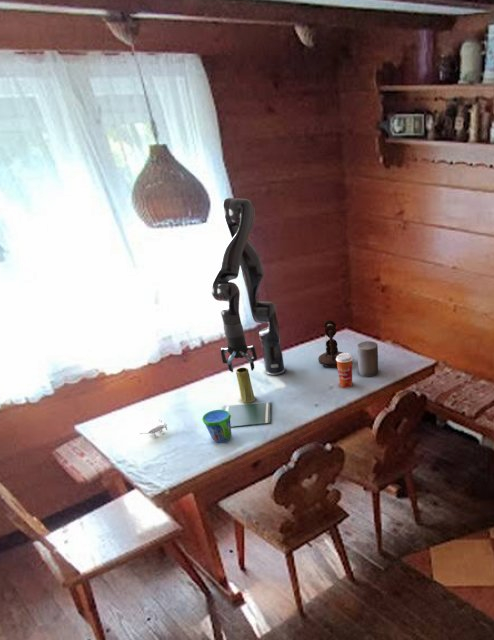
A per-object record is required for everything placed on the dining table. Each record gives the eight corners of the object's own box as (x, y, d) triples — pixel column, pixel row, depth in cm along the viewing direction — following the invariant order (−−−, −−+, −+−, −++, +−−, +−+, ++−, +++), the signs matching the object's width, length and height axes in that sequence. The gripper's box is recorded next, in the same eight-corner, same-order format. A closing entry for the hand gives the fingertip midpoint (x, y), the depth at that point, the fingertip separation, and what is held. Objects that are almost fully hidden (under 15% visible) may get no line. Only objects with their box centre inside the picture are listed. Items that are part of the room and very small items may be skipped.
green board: (224, 407, 224) (224, 406, 224) (270, 403, 226) (270, 402, 226) (221, 428, 211) (221, 427, 210) (270, 423, 213) (269, 422, 212)
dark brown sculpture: (318, 357, 262) (314, 318, 249) (347, 355, 263) (344, 316, 250) (318, 369, 251) (314, 329, 238) (348, 367, 252) (345, 327, 239)
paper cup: (335, 387, 236) (332, 358, 227) (342, 380, 242) (340, 351, 233) (350, 389, 234) (348, 360, 225) (357, 382, 239) (355, 354, 230)
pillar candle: (382, 370, 248) (381, 340, 239) (371, 378, 242) (370, 348, 232) (365, 366, 253) (364, 336, 243) (354, 374, 246) (352, 343, 237)
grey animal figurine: (165, 427, 212) (161, 417, 209) (172, 431, 209) (169, 421, 206) (139, 439, 205) (135, 429, 202) (146, 444, 202) (142, 434, 199)
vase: (238, 401, 228) (231, 371, 219) (247, 395, 232) (241, 365, 223) (249, 404, 226) (242, 374, 216) (257, 398, 230) (252, 368, 220)
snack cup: (203, 433, 208) (196, 411, 201) (228, 426, 212) (222, 404, 205) (215, 451, 198) (208, 428, 191) (241, 443, 202) (235, 420, 195)
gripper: (252, 328, 213) (259, 365, 223) (217, 331, 211) (226, 368, 222) (251, 335, 207) (258, 373, 217) (215, 338, 205) (224, 375, 216)
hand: (242, 370), depth 220 cm, fingers open, 8 cm apart
